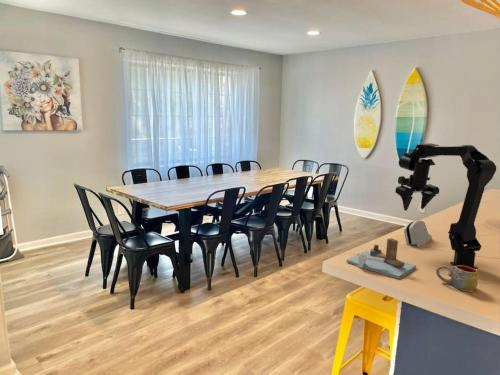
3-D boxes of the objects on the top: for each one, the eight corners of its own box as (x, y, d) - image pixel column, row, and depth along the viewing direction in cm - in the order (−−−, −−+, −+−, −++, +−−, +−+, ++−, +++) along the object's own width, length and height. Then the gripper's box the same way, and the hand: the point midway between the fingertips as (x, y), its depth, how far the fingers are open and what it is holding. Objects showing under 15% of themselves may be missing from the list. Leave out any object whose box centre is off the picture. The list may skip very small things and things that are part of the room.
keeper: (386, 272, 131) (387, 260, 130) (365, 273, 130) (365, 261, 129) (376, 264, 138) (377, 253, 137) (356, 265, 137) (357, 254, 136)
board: (415, 268, 135) (416, 265, 135) (398, 279, 125) (398, 276, 125) (365, 253, 149) (365, 251, 149) (346, 262, 139) (346, 259, 139)
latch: (367, 254, 144) (369, 233, 142) (375, 252, 146) (377, 231, 144) (397, 267, 131) (399, 244, 129) (405, 266, 133) (407, 243, 131)
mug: (478, 287, 120) (481, 268, 119) (474, 294, 115) (477, 274, 114) (438, 277, 128) (440, 258, 127) (432, 283, 123) (434, 264, 121)
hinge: (418, 247, 157) (412, 224, 157) (407, 248, 160) (401, 225, 161) (432, 238, 168) (426, 217, 169) (422, 240, 172) (416, 218, 172)
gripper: (422, 168, 164) (416, 202, 168) (389, 169, 157) (383, 204, 161) (443, 174, 154) (436, 210, 158) (408, 176, 147) (401, 213, 151)
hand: (413, 209), depth 158 cm, fingers open, 9 cm apart
